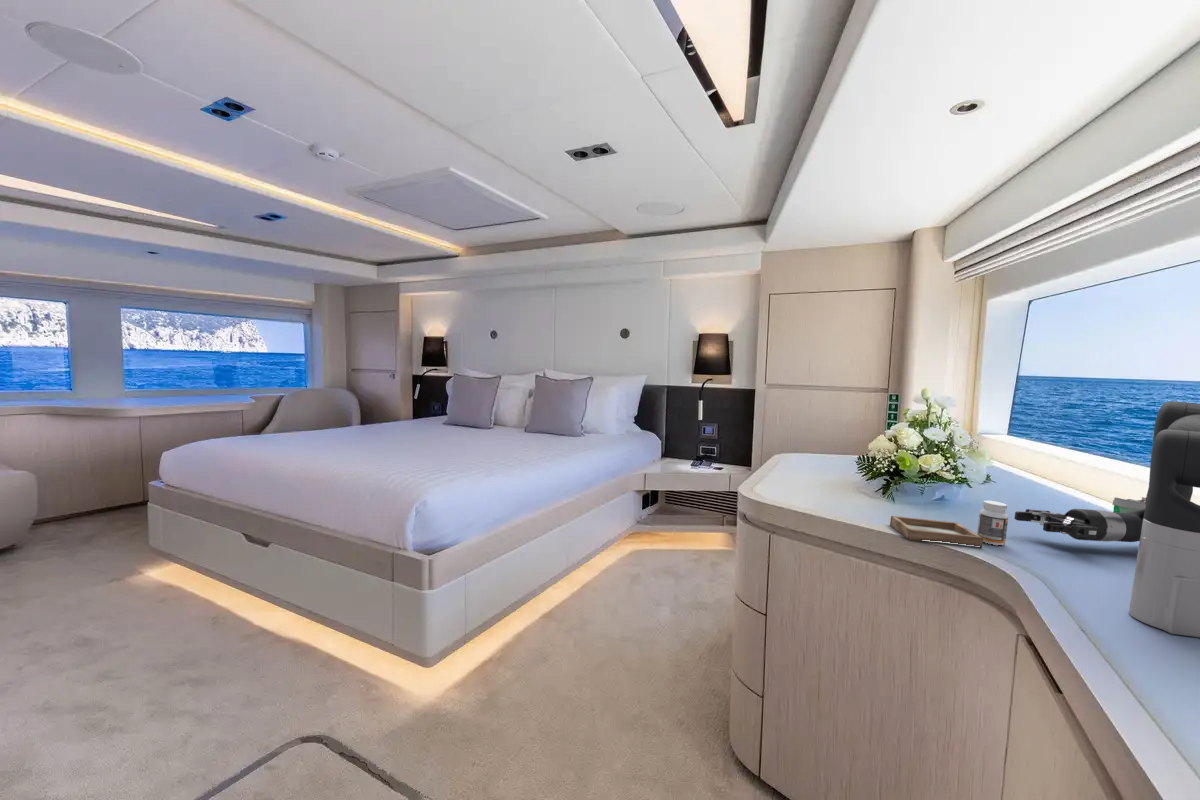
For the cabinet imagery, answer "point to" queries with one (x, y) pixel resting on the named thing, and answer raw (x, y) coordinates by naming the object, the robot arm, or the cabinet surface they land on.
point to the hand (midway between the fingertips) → (1029, 521)
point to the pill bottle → (993, 523)
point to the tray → (935, 531)
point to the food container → (1128, 505)
